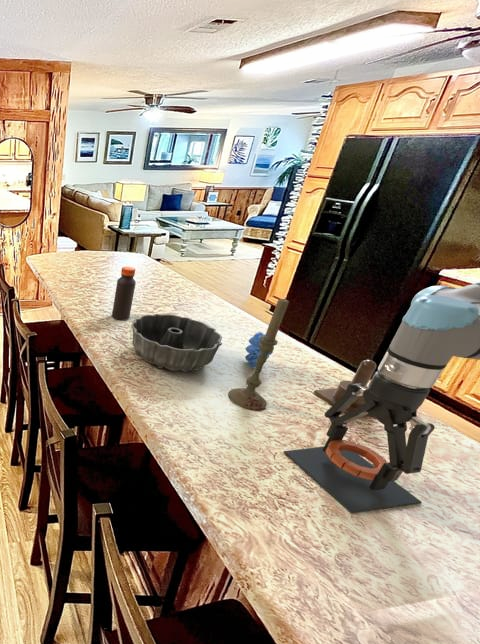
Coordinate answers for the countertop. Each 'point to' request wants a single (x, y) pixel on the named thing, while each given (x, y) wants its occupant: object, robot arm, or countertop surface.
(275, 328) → the candlestick holder
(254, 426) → the countertop surface
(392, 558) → the countertop surface
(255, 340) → the grapes
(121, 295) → the bottle
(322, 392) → the stand
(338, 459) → the ring
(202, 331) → the bundt pan
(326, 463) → the mat
